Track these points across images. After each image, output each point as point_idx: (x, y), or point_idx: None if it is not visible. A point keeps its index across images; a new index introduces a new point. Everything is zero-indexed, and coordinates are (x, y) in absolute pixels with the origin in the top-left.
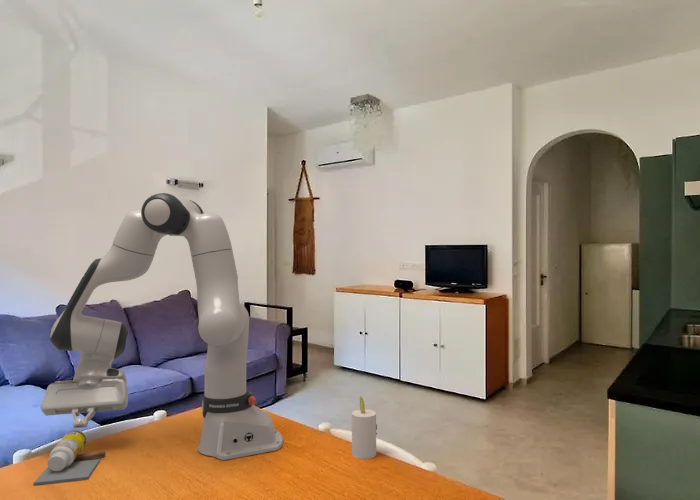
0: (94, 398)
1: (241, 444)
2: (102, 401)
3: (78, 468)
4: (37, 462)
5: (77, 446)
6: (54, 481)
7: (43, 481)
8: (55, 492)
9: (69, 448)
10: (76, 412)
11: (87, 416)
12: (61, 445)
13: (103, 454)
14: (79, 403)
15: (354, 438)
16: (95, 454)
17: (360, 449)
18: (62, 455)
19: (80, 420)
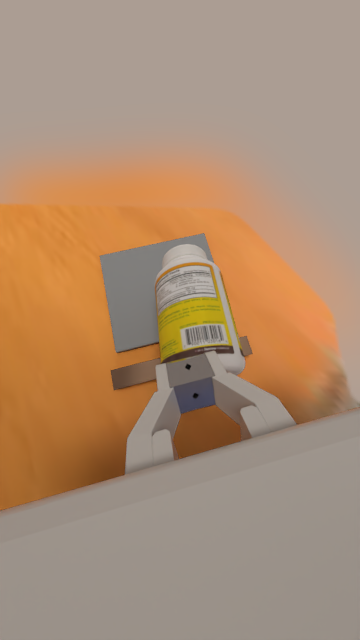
0: (109, 609)
1: None
2: (10, 553)
3: (144, 296)
4: (287, 352)
5: (157, 307)
6: (165, 242)
7: (186, 238)
8: (140, 212)
9: (164, 272)
10: (244, 409)
11: (156, 396)
12: (190, 265)
13: (112, 370)
14: (268, 470)
15: None
16: (134, 367)
17: None
18: (171, 255)
19: (189, 372)
